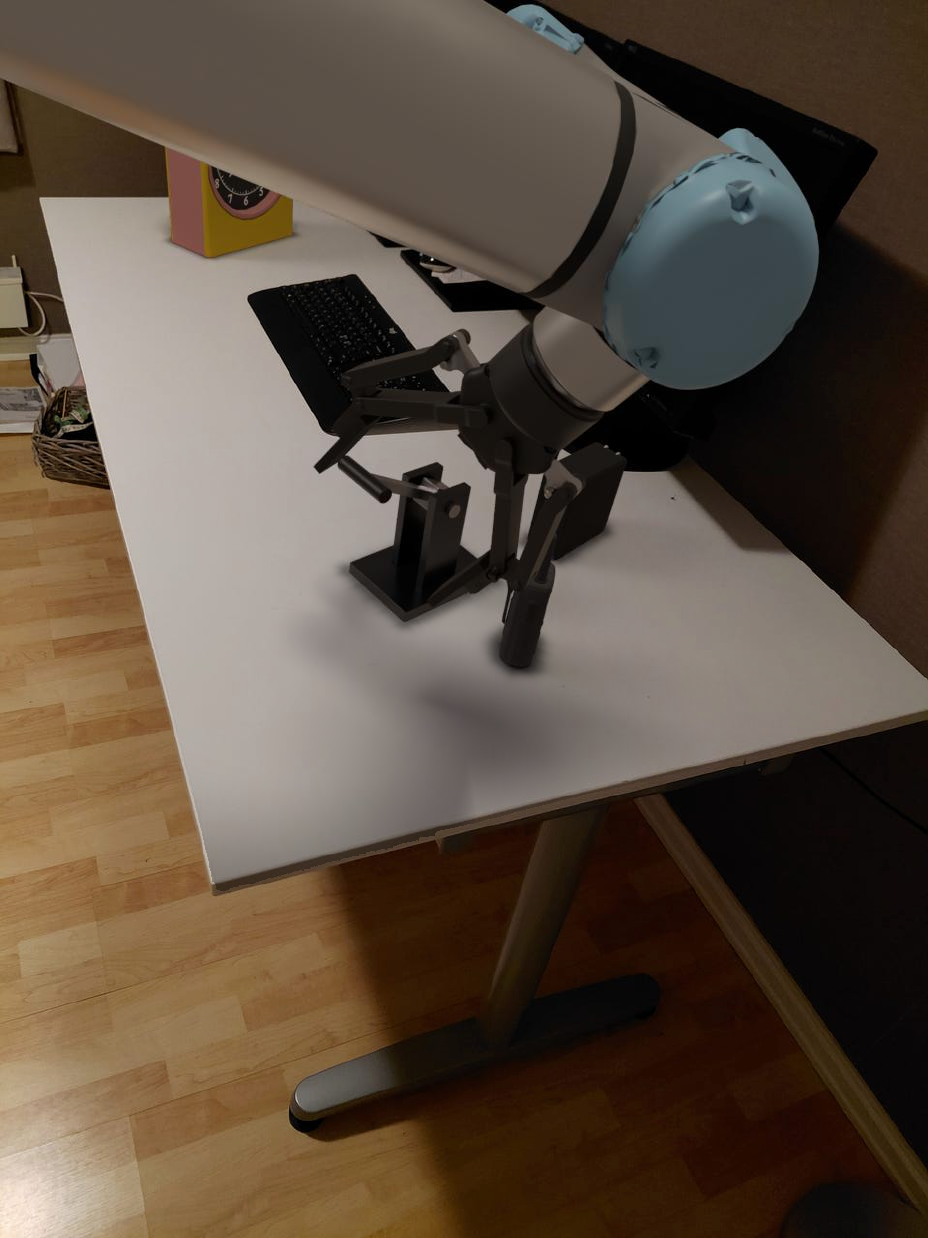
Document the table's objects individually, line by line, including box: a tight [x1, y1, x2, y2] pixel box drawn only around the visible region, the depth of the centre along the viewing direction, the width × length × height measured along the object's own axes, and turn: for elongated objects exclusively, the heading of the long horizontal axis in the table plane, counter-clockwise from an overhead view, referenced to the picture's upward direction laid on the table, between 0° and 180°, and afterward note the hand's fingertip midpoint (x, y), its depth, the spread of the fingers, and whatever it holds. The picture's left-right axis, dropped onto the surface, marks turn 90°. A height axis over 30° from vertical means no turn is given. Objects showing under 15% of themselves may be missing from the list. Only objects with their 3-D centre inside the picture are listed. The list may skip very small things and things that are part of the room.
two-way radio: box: [499, 533, 557, 668], centre depth 76 cm, size 6×4×15 cm
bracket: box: [348, 461, 479, 622], centre depth 83 cm, size 12×9×12 cm
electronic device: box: [526, 441, 628, 560], centre depth 93 cm, size 4×10×10 cm, turn 137°
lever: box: [336, 454, 450, 510], centre depth 77 cm, size 12×6×2 cm, turn 132°
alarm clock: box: [164, 146, 294, 259], centre depth 140 cm, size 21×9×26 cm, turn 147°
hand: (382, 531), depth 67 cm, fingers open, 13 cm apart
